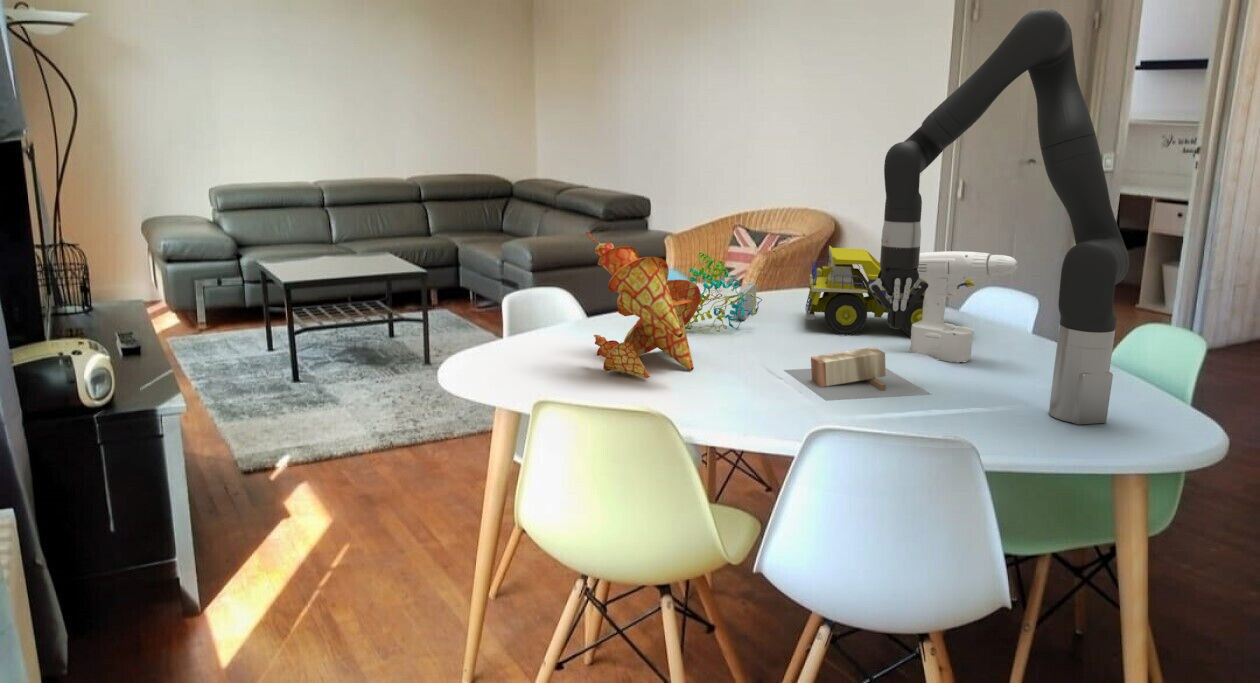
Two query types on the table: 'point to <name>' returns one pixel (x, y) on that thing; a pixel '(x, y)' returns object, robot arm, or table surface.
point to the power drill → (942, 281)
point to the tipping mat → (860, 386)
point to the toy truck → (852, 292)
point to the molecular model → (718, 285)
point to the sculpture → (646, 309)
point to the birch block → (848, 366)
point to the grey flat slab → (750, 300)
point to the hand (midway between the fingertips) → (895, 328)
